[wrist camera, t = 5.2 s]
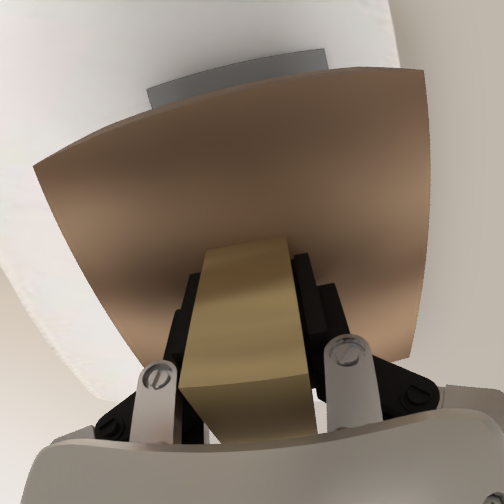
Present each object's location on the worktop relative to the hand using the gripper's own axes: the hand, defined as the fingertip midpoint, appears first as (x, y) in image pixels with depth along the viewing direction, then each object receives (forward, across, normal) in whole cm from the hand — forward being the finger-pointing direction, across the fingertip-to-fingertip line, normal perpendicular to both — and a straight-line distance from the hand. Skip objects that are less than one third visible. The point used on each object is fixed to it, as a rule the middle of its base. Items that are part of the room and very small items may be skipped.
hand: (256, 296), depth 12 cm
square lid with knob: (+8, 0, 0) cm, 8 cm away
